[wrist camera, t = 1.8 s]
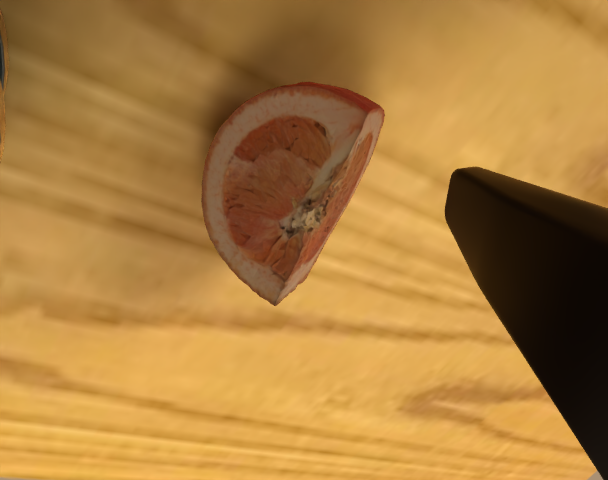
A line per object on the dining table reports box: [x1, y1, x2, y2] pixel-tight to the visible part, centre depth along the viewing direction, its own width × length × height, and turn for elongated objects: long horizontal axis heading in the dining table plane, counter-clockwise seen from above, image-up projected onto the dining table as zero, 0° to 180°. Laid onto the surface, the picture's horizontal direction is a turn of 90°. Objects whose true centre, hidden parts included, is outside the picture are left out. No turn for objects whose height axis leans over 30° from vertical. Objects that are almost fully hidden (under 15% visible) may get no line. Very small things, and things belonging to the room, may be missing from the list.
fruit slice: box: [202, 82, 385, 306], centre depth 21 cm, size 8×7×5 cm
